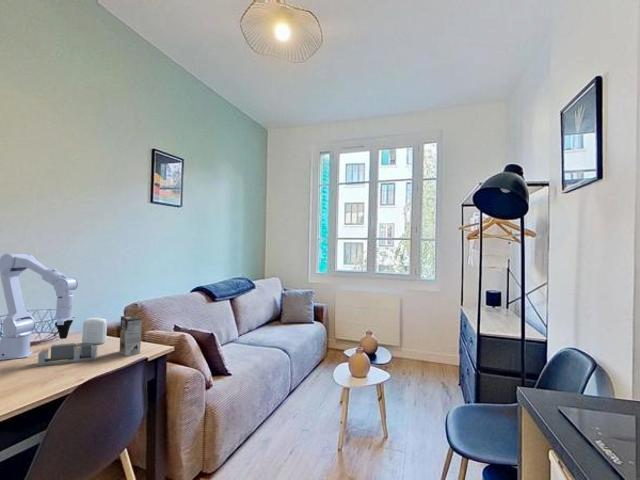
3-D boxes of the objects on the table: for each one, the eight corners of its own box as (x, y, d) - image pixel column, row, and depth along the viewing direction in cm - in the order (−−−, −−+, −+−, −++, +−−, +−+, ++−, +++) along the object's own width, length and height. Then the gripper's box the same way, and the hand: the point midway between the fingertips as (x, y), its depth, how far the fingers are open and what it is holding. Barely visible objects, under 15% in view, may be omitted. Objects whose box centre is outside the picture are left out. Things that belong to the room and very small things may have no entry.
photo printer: (107, 341, 166) (108, 317, 166) (103, 344, 162) (104, 318, 162) (85, 341, 165) (86, 317, 165) (80, 344, 161) (81, 318, 161)
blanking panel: (50, 364, 135) (51, 346, 135) (51, 362, 137) (52, 345, 137) (73, 361, 138) (73, 344, 138) (74, 359, 140) (74, 343, 140)
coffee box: (118, 351, 152) (120, 316, 153) (134, 348, 157) (135, 314, 157) (124, 356, 146) (126, 319, 146) (140, 353, 151) (142, 317, 151)
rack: (37, 366, 132) (38, 351, 132) (41, 361, 136) (42, 347, 137) (95, 360, 140) (95, 345, 141) (96, 356, 145) (97, 342, 145)
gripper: (72, 309, 136) (71, 342, 136) (79, 302, 149) (78, 333, 149) (51, 309, 133) (49, 343, 133) (60, 303, 146) (58, 334, 146)
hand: (63, 338), depth 141 cm, fingers closed
